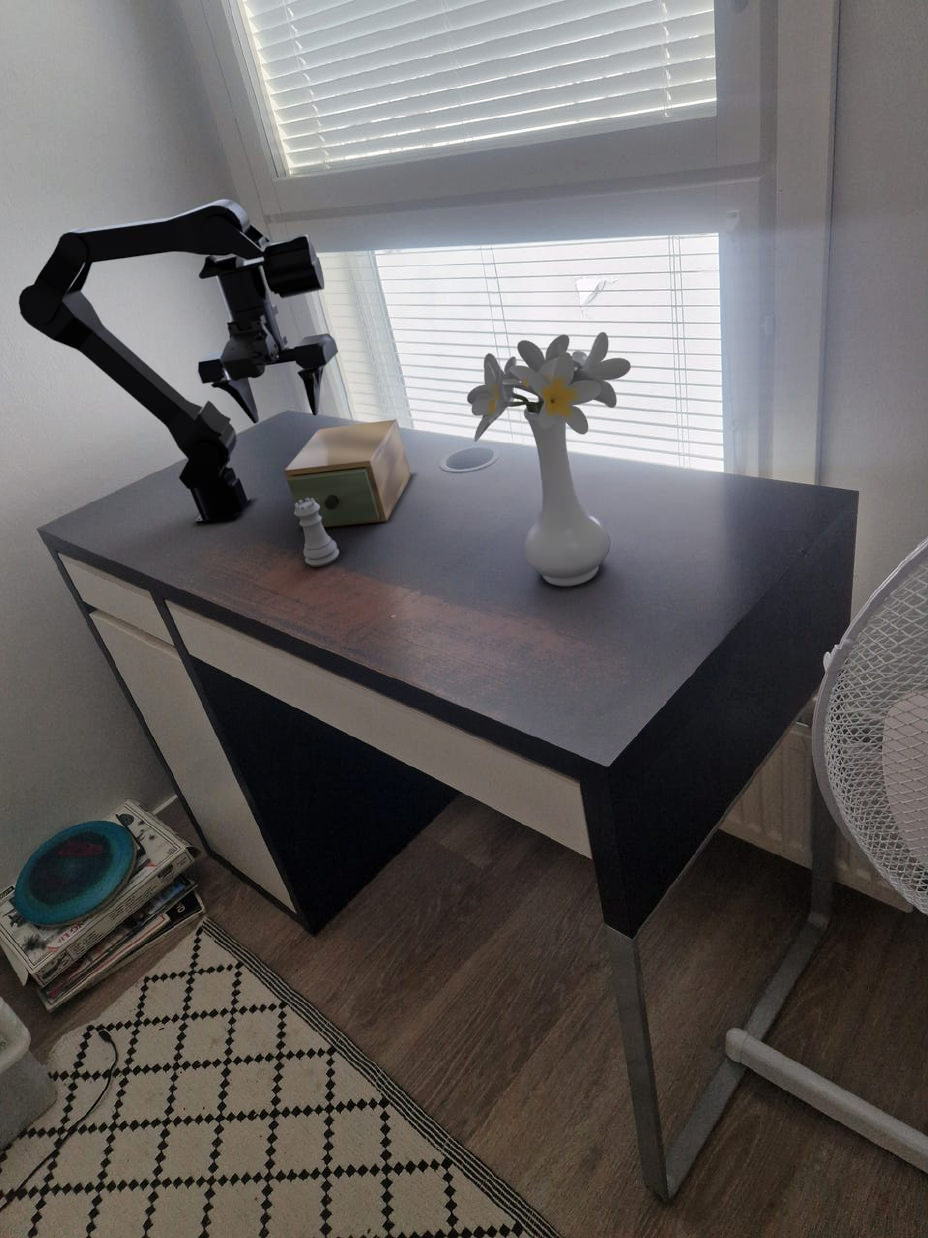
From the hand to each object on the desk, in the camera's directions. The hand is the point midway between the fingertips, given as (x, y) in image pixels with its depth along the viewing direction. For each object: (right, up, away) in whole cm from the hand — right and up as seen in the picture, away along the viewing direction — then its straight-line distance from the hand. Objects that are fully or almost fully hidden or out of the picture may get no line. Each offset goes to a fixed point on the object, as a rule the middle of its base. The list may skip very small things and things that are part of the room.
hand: (285, 418), depth 120 cm
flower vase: (+37, -23, -26) cm, 51 cm away
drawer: (+10, -12, -2) cm, 16 cm away
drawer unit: (+10, -12, +1) cm, 16 cm away
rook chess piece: (+7, -21, -12) cm, 25 cm away
